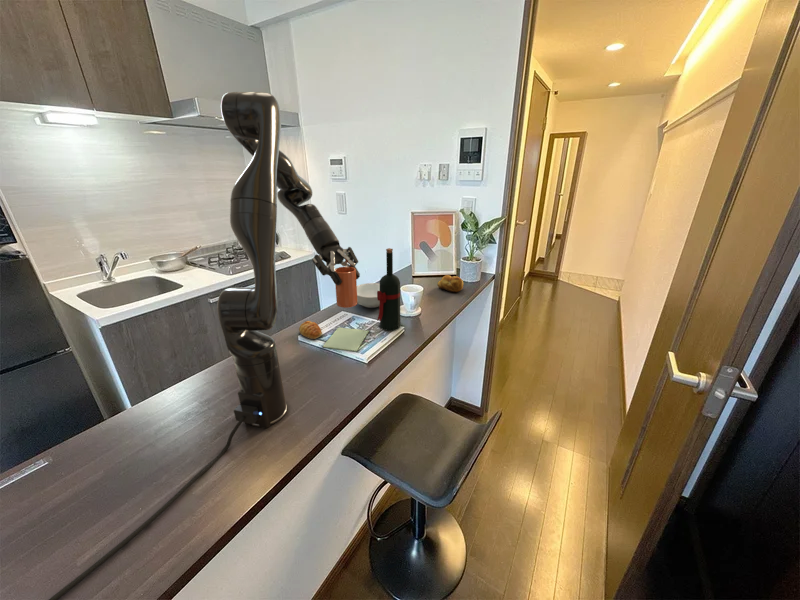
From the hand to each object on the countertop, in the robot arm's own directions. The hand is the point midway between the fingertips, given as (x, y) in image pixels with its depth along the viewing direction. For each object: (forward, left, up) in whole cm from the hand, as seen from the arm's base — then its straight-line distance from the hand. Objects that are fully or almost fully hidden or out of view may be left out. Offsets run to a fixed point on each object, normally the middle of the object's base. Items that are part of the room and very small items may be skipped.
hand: (349, 280), depth 97 cm
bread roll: (+65, -27, -25) cm, 74 cm away
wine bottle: (+20, -7, -25) cm, 33 cm away
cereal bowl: (+39, +5, -25) cm, 47 cm away
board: (+8, +5, -25) cm, 27 cm away
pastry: (+9, +19, -25) cm, 33 cm away
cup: (+1, +1, -8) cm, 8 cm away
